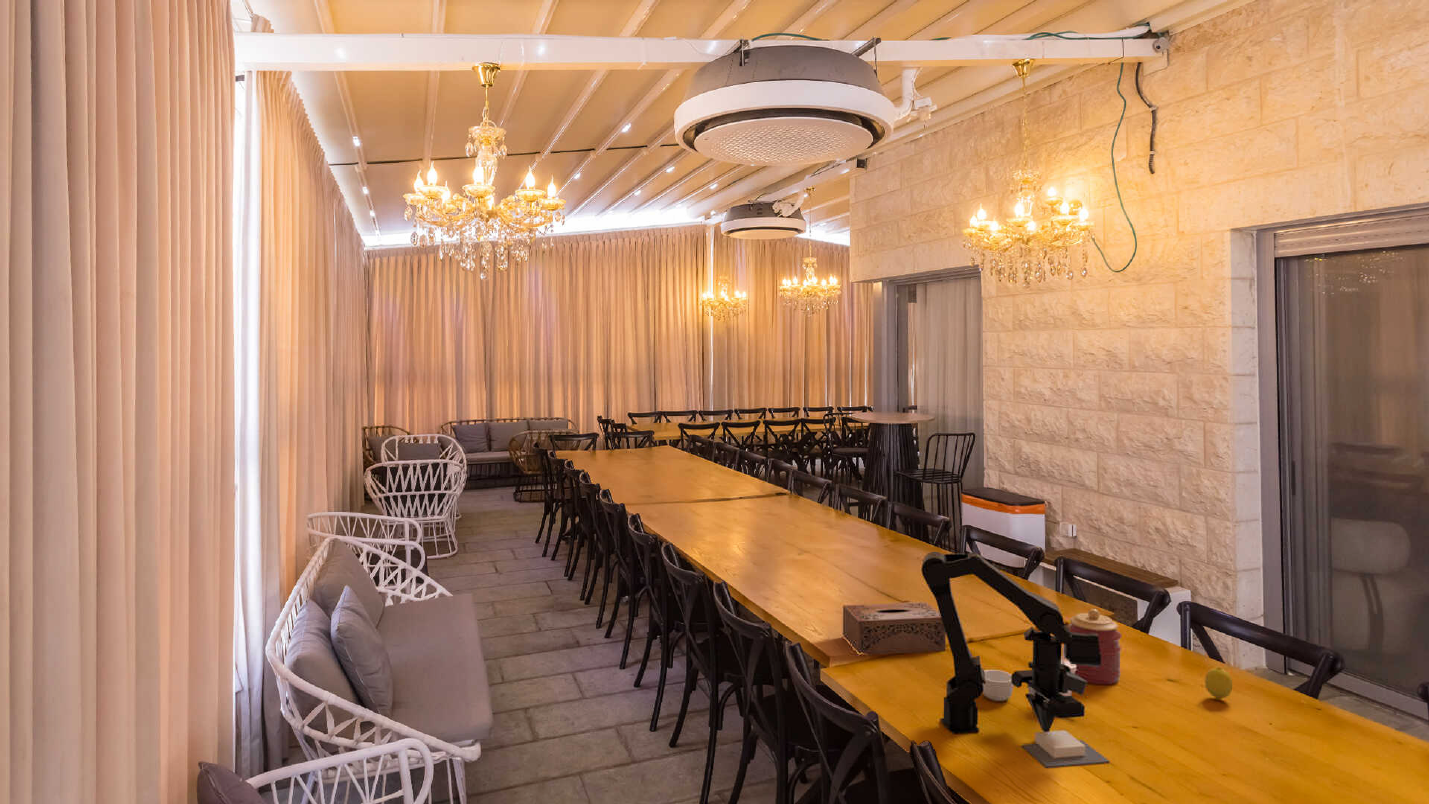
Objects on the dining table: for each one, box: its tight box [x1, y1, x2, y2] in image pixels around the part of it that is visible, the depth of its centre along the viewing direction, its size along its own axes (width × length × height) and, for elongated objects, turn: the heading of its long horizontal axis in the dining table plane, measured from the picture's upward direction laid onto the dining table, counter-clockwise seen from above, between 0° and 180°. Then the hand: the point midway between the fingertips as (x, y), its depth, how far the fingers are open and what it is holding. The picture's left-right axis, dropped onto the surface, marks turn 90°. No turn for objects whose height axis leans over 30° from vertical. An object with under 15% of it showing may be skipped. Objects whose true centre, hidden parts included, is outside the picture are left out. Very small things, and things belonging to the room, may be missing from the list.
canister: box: [1065, 608, 1122, 685], centre depth 203 cm, size 13×13×18 cm
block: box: [1034, 729, 1085, 758], centre depth 163 cm, size 7×2×7 cm
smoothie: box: [1060, 645, 1076, 696], centre depth 186 cm, size 6×6×14 cm
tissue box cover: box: [842, 601, 947, 656], centre depth 226 cm, size 26×14×10 cm, turn 98°
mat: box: [1021, 739, 1110, 769], centre depth 162 cm, size 14×9×1 cm, turn 99°
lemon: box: [1204, 666, 1233, 700], centre depth 188 cm, size 6×6×8 cm
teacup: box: [982, 669, 1014, 702], centre depth 190 cm, size 10×8×5 cm
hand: (1045, 731), depth 169 cm, fingers closed
